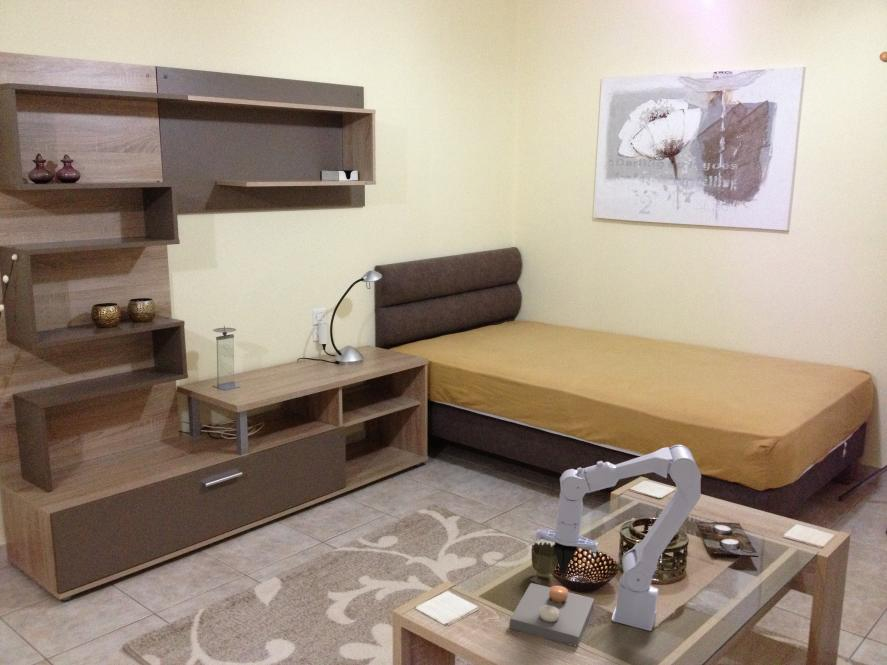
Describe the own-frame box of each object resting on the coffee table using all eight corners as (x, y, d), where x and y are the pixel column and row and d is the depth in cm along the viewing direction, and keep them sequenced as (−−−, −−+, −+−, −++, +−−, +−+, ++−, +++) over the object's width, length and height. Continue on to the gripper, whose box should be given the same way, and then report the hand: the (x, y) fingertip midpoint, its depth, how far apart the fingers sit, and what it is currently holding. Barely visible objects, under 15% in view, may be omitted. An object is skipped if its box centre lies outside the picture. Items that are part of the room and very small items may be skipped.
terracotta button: (568, 603, 199) (569, 588, 199) (564, 612, 195) (565, 597, 195) (550, 598, 201) (552, 584, 200) (546, 607, 197) (547, 592, 196)
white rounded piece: (559, 623, 191) (561, 608, 190) (554, 633, 187) (556, 617, 186) (541, 618, 193) (542, 603, 192) (536, 628, 189) (538, 612, 188)
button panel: (593, 607, 200) (594, 598, 199) (577, 646, 183) (578, 637, 183) (530, 591, 205) (531, 582, 205) (509, 628, 189) (510, 618, 188)
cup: (556, 585, 209) (559, 557, 207) (527, 581, 210) (530, 552, 209) (558, 571, 216) (561, 544, 214) (530, 567, 217) (533, 539, 216)
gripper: (602, 519, 195) (596, 571, 198) (543, 507, 200) (538, 557, 203) (596, 531, 188) (590, 585, 191) (536, 518, 193) (531, 570, 196)
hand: (563, 572), depth 197 cm, fingers closed
